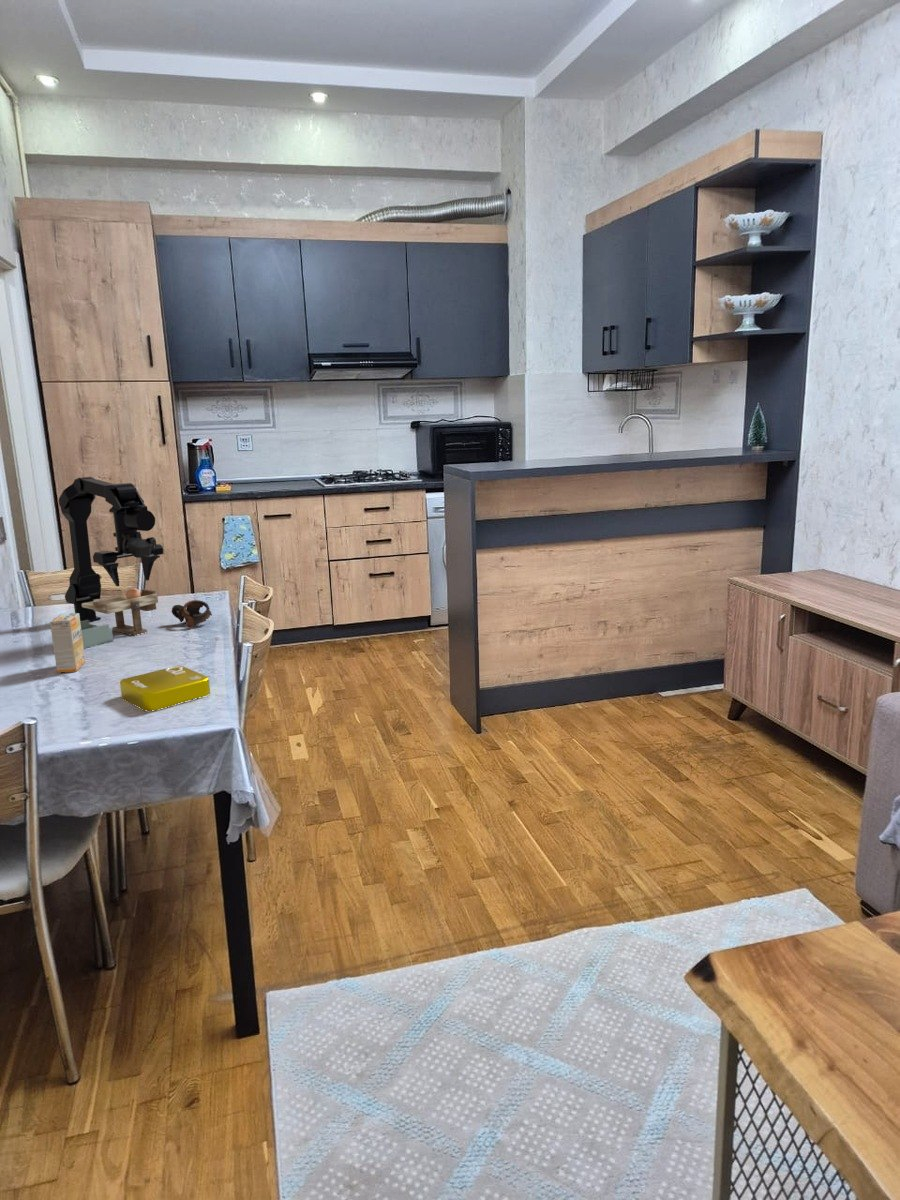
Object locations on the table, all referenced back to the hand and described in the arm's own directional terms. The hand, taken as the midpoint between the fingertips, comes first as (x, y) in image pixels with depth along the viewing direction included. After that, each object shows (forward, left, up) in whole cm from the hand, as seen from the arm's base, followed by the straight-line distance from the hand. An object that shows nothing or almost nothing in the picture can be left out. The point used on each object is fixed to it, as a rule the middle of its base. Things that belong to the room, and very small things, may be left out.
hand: (132, 583), depth 227 cm
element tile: (+55, -29, -15) cm, 64 cm away
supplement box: (+16, -29, -15) cm, 36 cm away
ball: (-3, +2, -4) cm, 5 cm away
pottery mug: (+6, +14, -15) cm, 21 cm away
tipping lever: (-7, -1, -9) cm, 11 cm away
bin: (-3, -15, -14) cm, 21 cm away
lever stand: (-3, -1, -14) cm, 15 cm away
